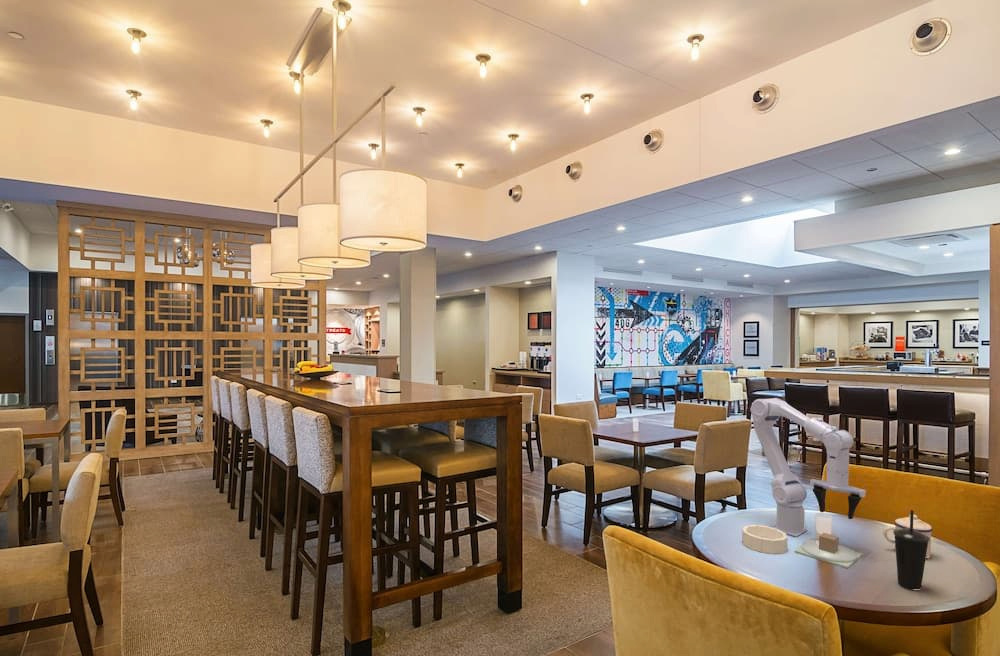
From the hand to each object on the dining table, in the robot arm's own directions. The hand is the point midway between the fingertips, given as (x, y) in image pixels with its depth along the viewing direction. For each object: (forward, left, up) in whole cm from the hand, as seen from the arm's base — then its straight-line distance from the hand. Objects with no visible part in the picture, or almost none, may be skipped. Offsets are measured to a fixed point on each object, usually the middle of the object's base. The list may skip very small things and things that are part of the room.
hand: (836, 514), depth 167 cm
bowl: (+15, -15, -10) cm, 24 cm away
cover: (+6, 0, -10) cm, 12 cm away
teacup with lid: (-14, +15, -11) cm, 23 cm away
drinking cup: (+12, +21, -11) cm, 26 cm away
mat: (+6, 0, -10) cm, 12 cm away
